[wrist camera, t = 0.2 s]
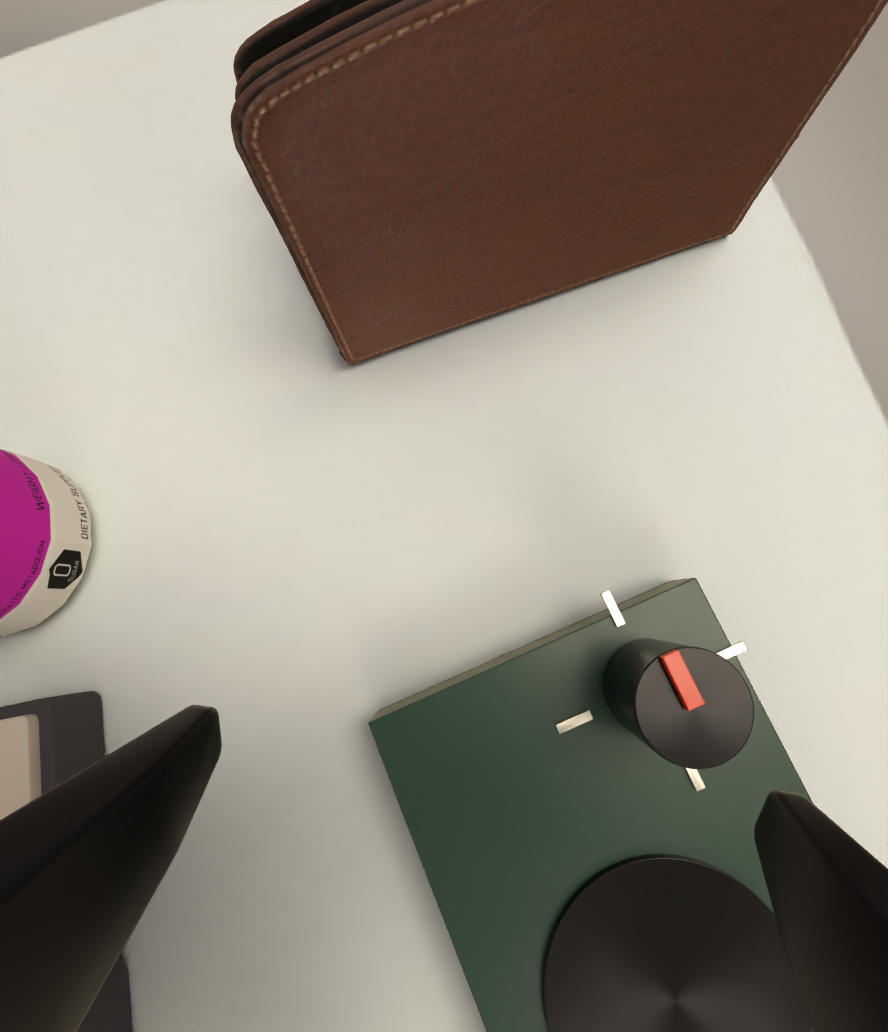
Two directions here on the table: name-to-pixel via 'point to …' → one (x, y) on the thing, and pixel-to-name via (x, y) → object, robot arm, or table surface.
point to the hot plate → (562, 790)
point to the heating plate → (668, 955)
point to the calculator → (42, 766)
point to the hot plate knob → (680, 701)
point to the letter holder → (517, 142)
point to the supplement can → (38, 541)
